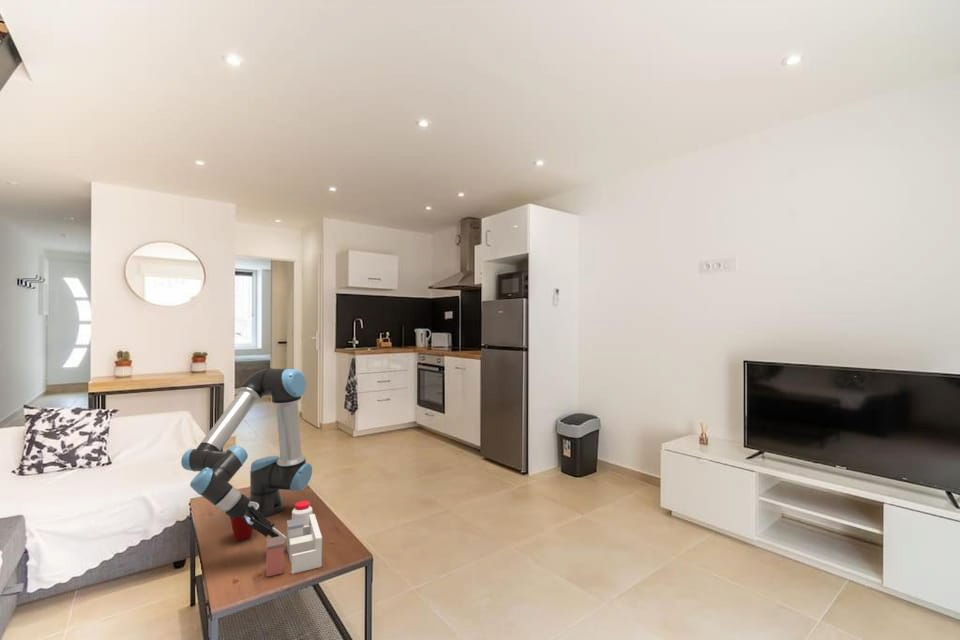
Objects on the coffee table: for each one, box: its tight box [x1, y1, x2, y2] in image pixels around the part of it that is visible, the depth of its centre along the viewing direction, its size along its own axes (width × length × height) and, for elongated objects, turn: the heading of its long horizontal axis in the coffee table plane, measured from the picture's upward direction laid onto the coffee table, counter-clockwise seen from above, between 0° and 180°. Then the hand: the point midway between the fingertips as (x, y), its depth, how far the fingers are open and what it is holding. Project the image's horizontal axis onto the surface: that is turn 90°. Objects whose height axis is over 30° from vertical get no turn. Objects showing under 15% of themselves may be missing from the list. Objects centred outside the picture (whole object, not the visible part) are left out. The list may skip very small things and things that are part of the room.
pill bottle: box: [291, 500, 313, 526], centre depth 174 cm, size 8×8×11 cm
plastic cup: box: [229, 502, 259, 542], centre depth 168 cm, size 11×11×12 cm
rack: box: [288, 513, 323, 575], centre depth 155 cm, size 21×10×10 cm, turn 28°
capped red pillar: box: [265, 536, 285, 578], centre depth 146 cm, size 6×5×10 cm
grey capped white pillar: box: [286, 518, 303, 555], centre depth 160 cm, size 6×5×10 cm
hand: (283, 541), depth 158 cm, fingers closed
